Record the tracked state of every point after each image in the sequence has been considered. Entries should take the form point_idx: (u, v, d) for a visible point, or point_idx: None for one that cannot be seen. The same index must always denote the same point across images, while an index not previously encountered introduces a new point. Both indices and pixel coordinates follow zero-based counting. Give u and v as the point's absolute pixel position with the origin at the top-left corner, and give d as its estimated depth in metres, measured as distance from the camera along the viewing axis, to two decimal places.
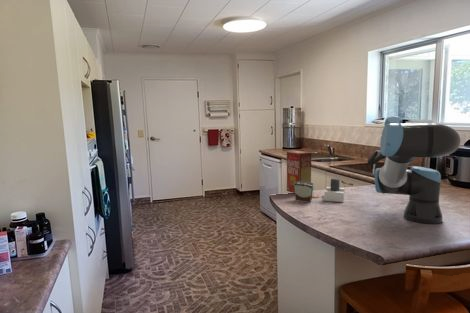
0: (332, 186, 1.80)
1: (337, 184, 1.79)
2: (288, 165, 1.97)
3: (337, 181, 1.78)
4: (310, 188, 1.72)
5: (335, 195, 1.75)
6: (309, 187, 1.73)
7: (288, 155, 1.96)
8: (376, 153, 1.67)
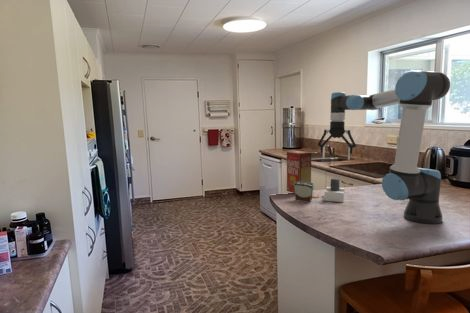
0: (332, 186, 1.80)
1: (337, 184, 1.79)
2: (288, 165, 1.97)
3: (337, 181, 1.78)
4: (310, 188, 1.72)
5: (335, 195, 1.75)
6: (309, 187, 1.73)
7: (288, 155, 1.96)
8: (325, 131, 1.78)
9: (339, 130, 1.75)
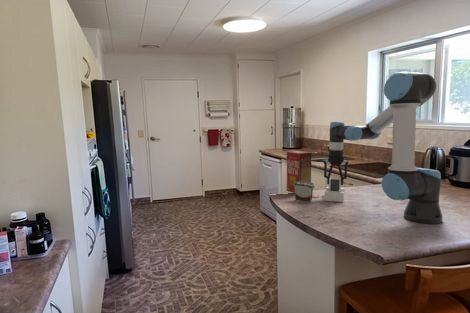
0: (332, 186, 1.80)
1: (337, 184, 1.79)
2: (288, 165, 1.97)
3: (337, 181, 1.78)
4: (310, 188, 1.72)
5: (335, 195, 1.75)
6: (309, 187, 1.73)
7: (288, 155, 1.96)
8: (324, 162, 1.80)
9: (339, 157, 1.77)
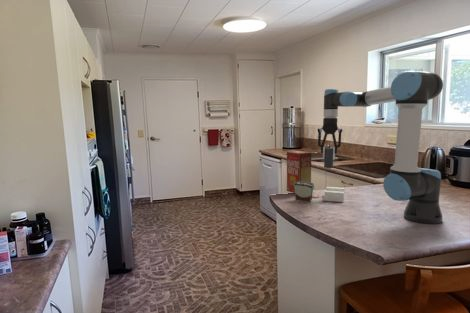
0: (326, 155, 1.79)
1: (331, 152, 1.78)
2: (288, 165, 1.97)
3: (331, 149, 1.78)
4: (310, 188, 1.72)
5: (335, 195, 1.75)
6: (309, 187, 1.73)
7: (288, 155, 1.96)
8: (318, 130, 1.80)
9: (333, 125, 1.77)
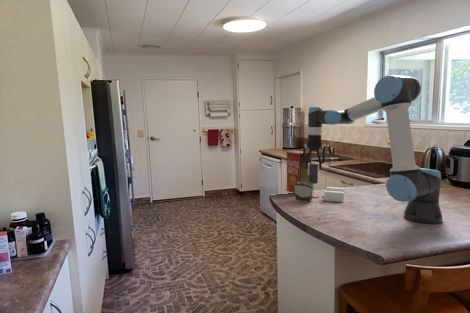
0: (311, 170, 1.83)
1: (315, 168, 1.82)
2: (288, 165, 1.97)
3: (315, 165, 1.82)
4: (310, 188, 1.72)
5: (335, 195, 1.75)
6: (309, 187, 1.73)
7: (288, 155, 1.96)
8: (303, 147, 1.84)
9: (317, 142, 1.81)
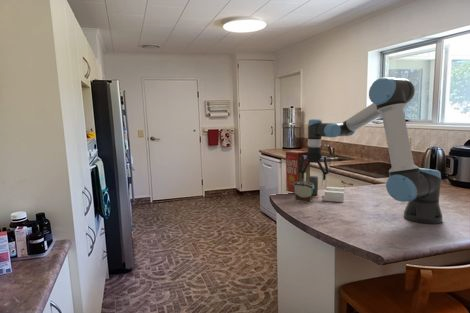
0: None
1: (315, 181, 1.83)
2: (287, 165, 1.98)
3: (315, 178, 1.83)
4: (310, 188, 1.72)
5: (335, 195, 1.75)
6: (309, 187, 1.73)
7: (287, 155, 1.97)
8: (303, 157, 1.85)
9: (316, 155, 1.82)
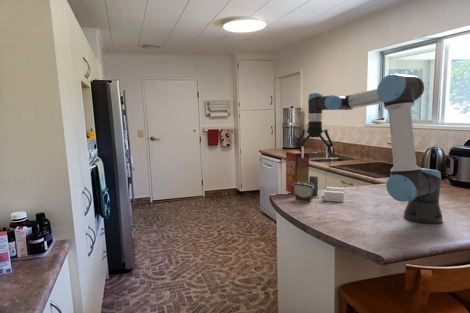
0: None
1: (315, 181, 1.83)
2: (287, 165, 1.98)
3: (315, 178, 1.83)
4: (310, 188, 1.72)
5: (335, 195, 1.75)
6: (309, 187, 1.73)
7: (287, 155, 1.97)
8: (303, 131, 1.83)
9: (317, 130, 1.80)
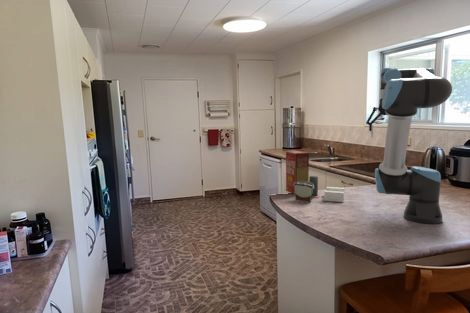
0: None
1: (315, 181, 1.83)
2: (287, 165, 1.98)
3: (315, 178, 1.83)
4: (310, 188, 1.72)
5: (335, 195, 1.75)
6: (309, 187, 1.73)
7: (287, 155, 1.97)
8: (374, 109, 1.74)
9: None
